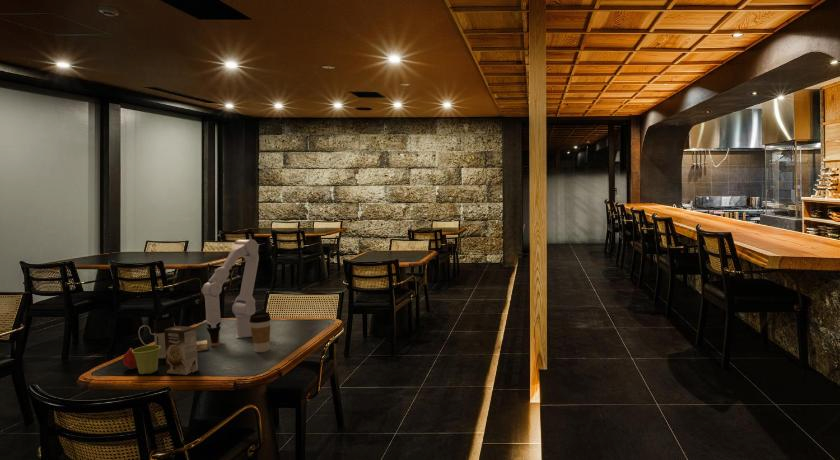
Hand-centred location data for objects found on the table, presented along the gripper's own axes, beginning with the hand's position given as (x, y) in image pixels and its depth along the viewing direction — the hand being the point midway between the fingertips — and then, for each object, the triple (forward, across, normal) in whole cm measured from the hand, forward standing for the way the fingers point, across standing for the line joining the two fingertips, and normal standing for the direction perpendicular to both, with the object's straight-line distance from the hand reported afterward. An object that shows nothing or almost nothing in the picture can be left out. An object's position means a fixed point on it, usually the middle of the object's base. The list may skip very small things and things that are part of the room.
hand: (214, 340), depth 232 cm
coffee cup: (+2, +20, +18) cm, 27 cm away
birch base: (+2, +5, -6) cm, 8 cm away
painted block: (+2, 0, 0) cm, 2 cm away
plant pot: (+2, +29, -23) cm, 37 cm away
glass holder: (+2, +9, -21) cm, 23 cm away
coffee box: (+2, +35, -11) cm, 37 cm away
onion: (+2, +22, -29) cm, 36 cm away
